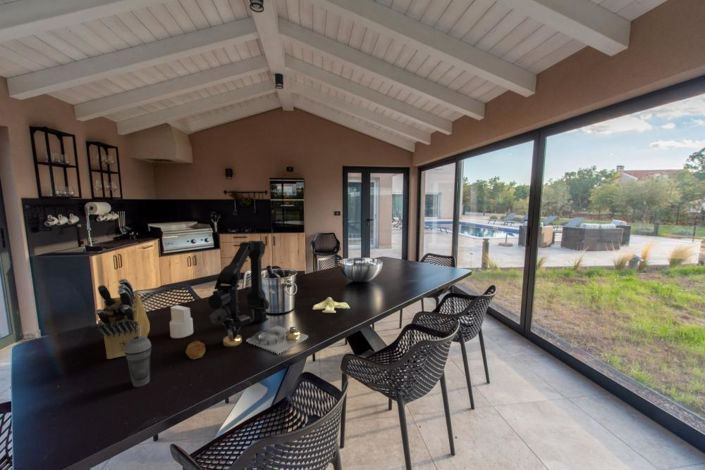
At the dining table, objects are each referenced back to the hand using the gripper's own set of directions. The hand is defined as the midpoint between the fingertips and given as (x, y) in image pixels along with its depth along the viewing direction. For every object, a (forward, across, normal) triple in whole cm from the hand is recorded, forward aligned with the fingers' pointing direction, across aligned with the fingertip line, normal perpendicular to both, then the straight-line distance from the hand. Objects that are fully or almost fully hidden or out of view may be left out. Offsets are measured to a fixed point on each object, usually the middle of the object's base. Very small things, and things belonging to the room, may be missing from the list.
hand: (232, 336), depth 129 cm
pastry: (+3, -4, -13) cm, 14 cm away
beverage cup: (+3, 0, -34) cm, 34 cm away
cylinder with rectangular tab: (+3, -27, -7) cm, 28 cm away
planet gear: (+2, 0, 0) cm, 2 cm away
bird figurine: (+3, +6, +57) cm, 57 cm away
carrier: (+2, +14, +12) cm, 19 cm away
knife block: (+3, -31, -26) cm, 41 cm away
